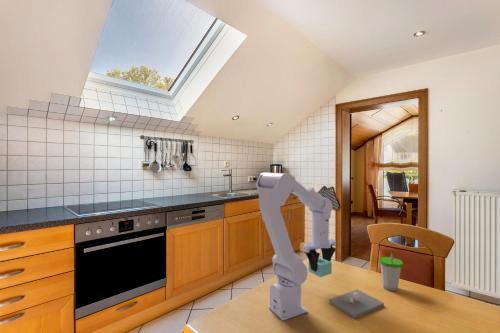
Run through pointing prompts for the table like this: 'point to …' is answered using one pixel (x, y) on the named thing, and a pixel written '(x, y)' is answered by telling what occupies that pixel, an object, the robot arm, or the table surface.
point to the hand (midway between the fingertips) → (319, 268)
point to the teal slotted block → (322, 268)
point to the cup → (390, 272)
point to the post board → (356, 303)
